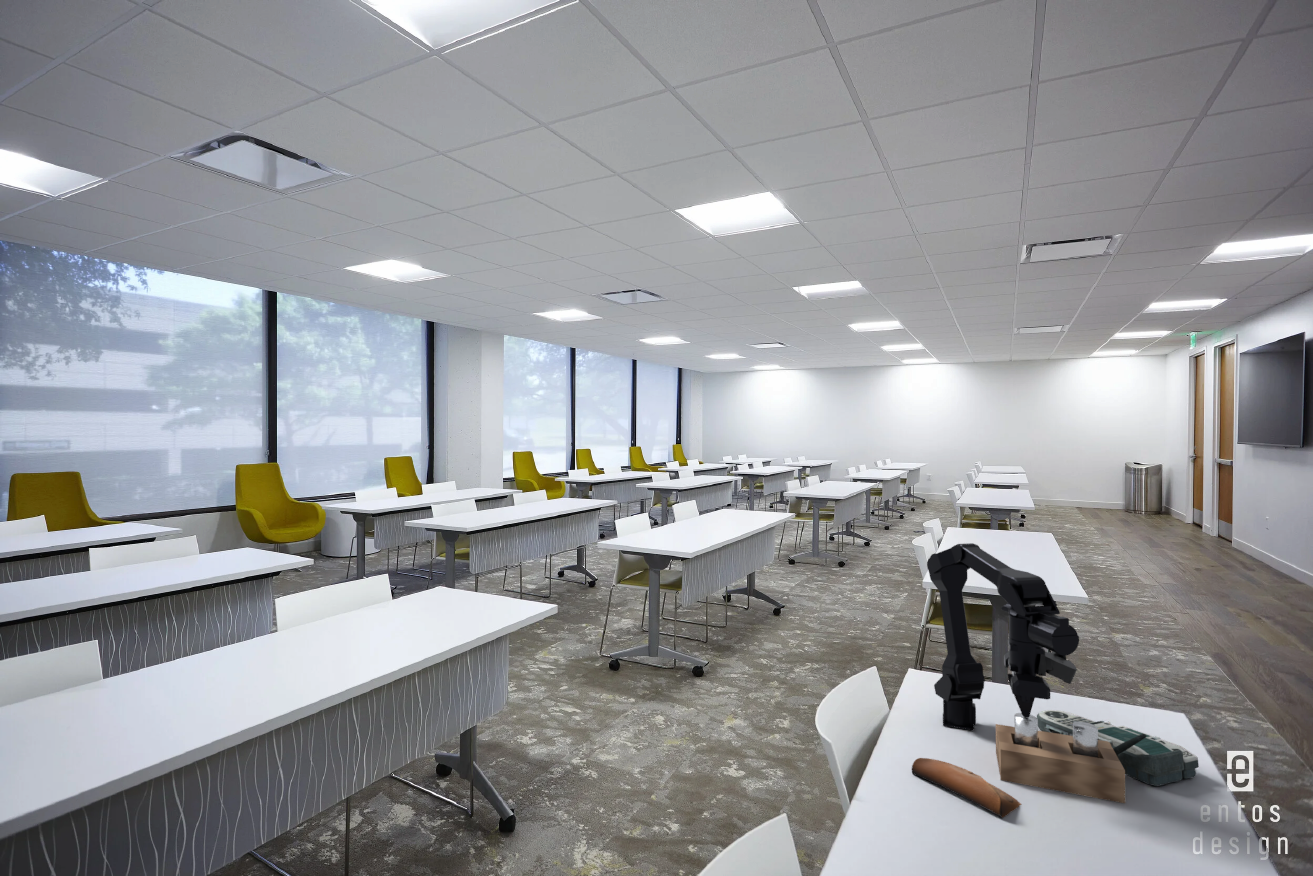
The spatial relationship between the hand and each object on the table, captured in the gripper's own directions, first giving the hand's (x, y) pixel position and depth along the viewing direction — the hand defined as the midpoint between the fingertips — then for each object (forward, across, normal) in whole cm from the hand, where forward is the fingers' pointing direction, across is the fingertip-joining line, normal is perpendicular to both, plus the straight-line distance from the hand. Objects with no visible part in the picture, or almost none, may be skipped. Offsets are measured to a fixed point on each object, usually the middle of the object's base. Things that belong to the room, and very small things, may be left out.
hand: (1025, 716), depth 127 cm
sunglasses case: (+12, -12, +11) cm, 20 cm away
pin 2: (+6, 0, -10) cm, 12 cm away
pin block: (+11, 0, -5) cm, 12 cm away
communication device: (+12, +16, -16) cm, 25 cm away
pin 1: (+6, 0, 0) cm, 6 cm away
